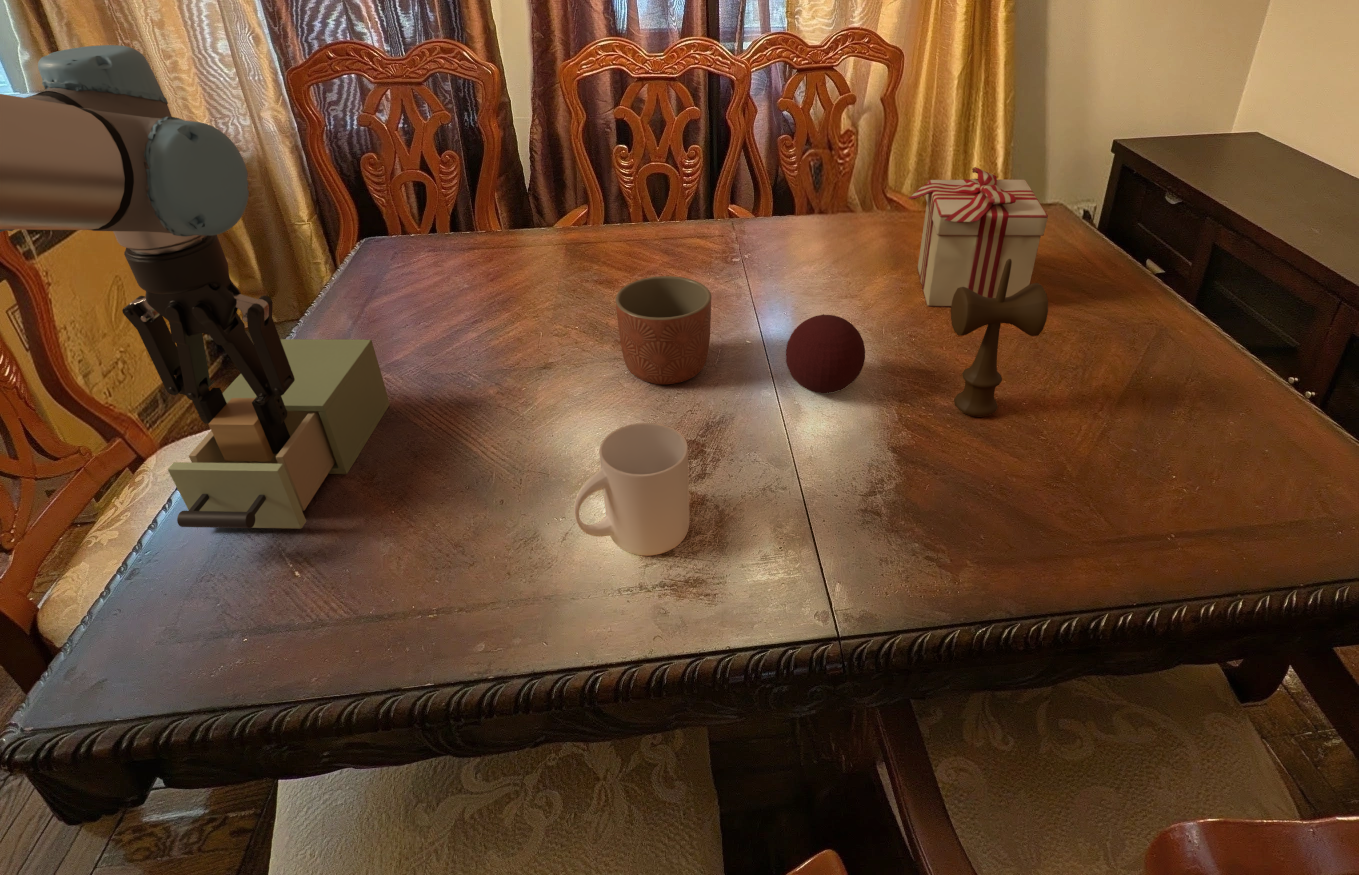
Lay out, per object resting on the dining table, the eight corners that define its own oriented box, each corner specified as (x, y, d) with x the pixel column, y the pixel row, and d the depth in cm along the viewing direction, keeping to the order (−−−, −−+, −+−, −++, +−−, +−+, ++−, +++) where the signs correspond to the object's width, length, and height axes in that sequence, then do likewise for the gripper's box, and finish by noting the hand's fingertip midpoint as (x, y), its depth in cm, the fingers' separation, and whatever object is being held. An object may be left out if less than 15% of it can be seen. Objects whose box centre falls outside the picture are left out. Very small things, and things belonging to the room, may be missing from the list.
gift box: (891, 267, 134) (905, 163, 124) (1003, 266, 133) (1027, 162, 123) (910, 315, 120) (928, 203, 110) (1035, 314, 119) (1065, 201, 109)
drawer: (283, 558, 80) (256, 499, 76) (174, 555, 81) (141, 497, 76) (350, 450, 95) (332, 395, 90) (257, 449, 95) (234, 395, 91)
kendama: (1021, 421, 98) (1064, 269, 86) (942, 423, 98) (974, 271, 86) (1005, 394, 102) (1043, 246, 91) (929, 396, 103) (958, 248, 91)
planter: (702, 397, 104) (702, 322, 97) (610, 389, 106) (603, 315, 99) (718, 349, 113) (718, 278, 107) (633, 342, 116) (628, 272, 109)
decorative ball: (858, 413, 100) (867, 343, 94) (778, 403, 102) (782, 334, 96) (863, 371, 108) (871, 304, 102) (789, 363, 110) (793, 297, 104)
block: (269, 461, 84) (253, 424, 81) (225, 461, 84) (207, 423, 81) (289, 434, 87) (275, 398, 85) (247, 434, 88) (231, 397, 85)
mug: (565, 528, 84) (553, 446, 78) (668, 493, 88) (664, 413, 82) (595, 581, 78) (584, 497, 72) (704, 541, 82) (703, 459, 76)
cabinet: (347, 474, 93) (323, 405, 87) (241, 472, 93) (211, 404, 88) (390, 403, 104) (371, 339, 99) (296, 403, 105) (272, 338, 99)
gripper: (284, 221, 74) (351, 426, 88) (100, 222, 75) (195, 424, 89) (244, 255, 68) (324, 468, 82) (45, 255, 69) (156, 466, 83)
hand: (257, 445), depth 85 cm, fingers closed on block, 5 cm apart
